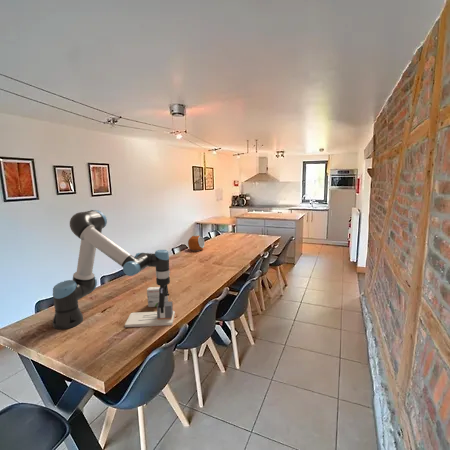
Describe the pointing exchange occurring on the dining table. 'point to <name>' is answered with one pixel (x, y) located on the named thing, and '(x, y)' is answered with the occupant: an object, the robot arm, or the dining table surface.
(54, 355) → the dining table surface
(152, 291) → the ink box
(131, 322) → the board
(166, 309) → the block
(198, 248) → the alarm clock
